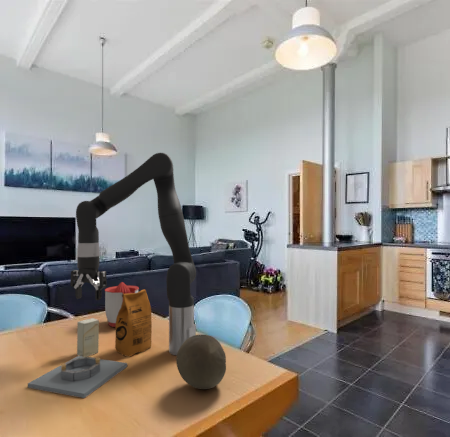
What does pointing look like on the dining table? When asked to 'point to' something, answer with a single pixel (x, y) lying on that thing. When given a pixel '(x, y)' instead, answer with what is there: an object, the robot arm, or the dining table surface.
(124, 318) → the coffee package
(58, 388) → the board
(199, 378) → the dark grey round ball
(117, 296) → the citrus juicer
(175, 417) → the dining table surface
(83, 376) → the collar
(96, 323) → the skincare box
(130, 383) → the dining table surface
